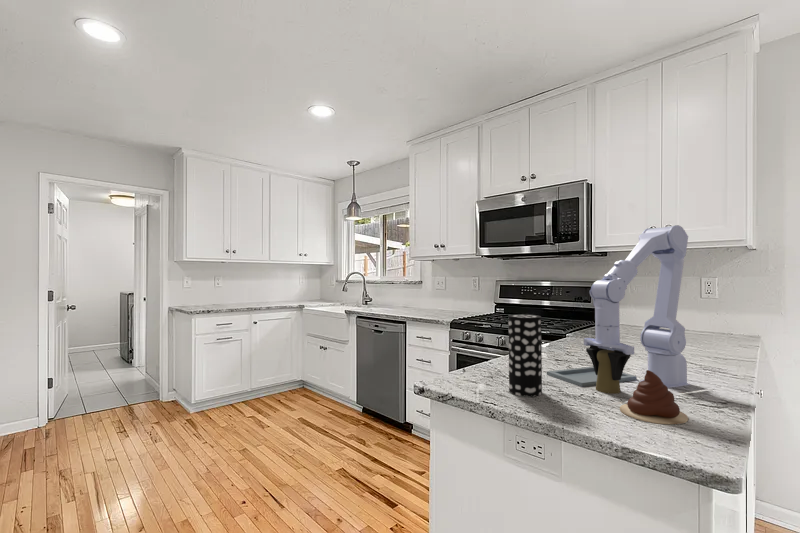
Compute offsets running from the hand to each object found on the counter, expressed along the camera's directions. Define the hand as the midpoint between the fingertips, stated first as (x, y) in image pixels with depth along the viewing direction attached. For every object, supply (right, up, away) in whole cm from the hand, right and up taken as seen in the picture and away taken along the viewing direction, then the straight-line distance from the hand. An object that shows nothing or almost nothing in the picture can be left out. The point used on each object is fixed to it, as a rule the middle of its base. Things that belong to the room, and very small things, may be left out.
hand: (607, 377), depth 108 cm
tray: (+2, -4, +13) cm, 14 cm away
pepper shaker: (0, -4, 0) cm, 4 cm away
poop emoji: (+2, -4, -16) cm, 17 cm away
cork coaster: (+2, -4, -16) cm, 17 cm away
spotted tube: (-22, -4, +1) cm, 22 cm away
